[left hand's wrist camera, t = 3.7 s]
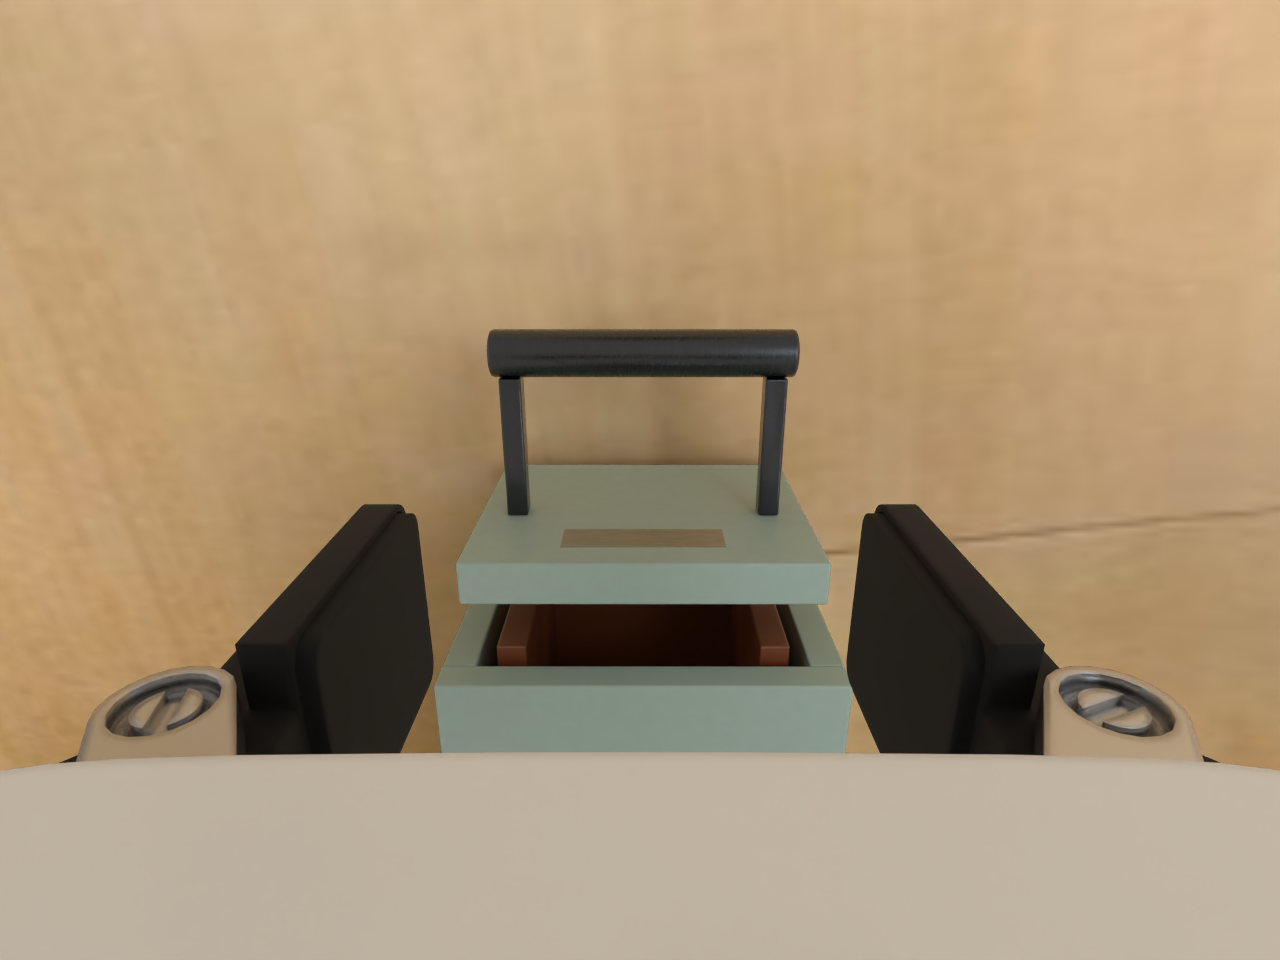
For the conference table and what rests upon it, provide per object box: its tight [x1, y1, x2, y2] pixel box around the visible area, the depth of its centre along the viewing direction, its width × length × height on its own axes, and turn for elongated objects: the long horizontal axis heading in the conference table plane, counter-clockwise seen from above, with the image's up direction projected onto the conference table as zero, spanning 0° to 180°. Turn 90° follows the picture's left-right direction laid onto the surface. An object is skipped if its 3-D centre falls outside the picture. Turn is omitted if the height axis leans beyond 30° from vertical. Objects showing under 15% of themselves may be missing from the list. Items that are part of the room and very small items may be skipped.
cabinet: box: [434, 604, 852, 753], centre depth 27 cm, size 19×11×10 cm, turn 0°
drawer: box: [456, 329, 831, 667], centre depth 24 cm, size 23×10×8 cm, turn 0°
